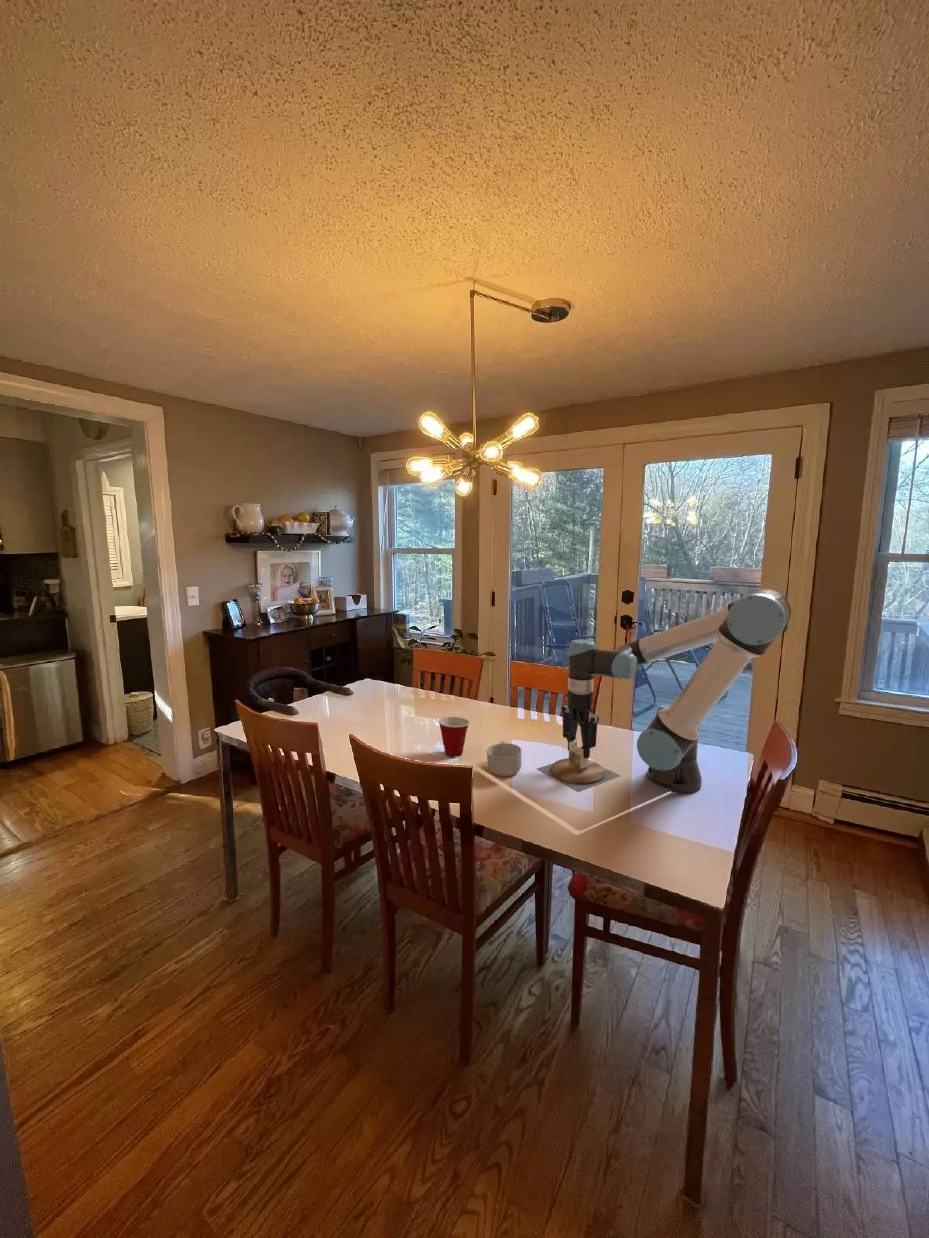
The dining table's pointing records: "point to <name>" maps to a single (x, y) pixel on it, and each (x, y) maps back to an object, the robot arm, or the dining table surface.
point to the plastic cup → (453, 734)
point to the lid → (577, 770)
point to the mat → (578, 787)
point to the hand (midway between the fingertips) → (578, 764)
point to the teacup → (504, 759)
